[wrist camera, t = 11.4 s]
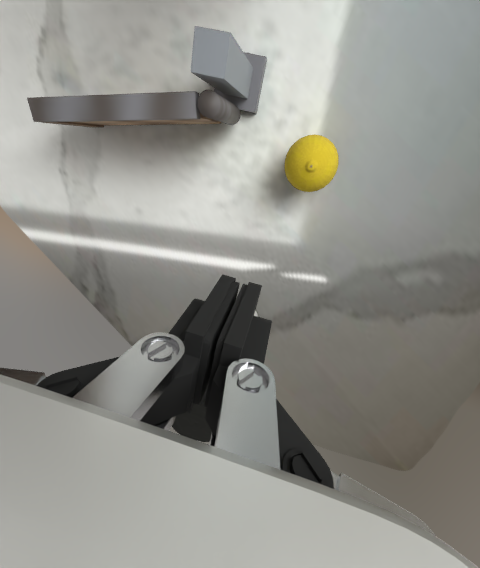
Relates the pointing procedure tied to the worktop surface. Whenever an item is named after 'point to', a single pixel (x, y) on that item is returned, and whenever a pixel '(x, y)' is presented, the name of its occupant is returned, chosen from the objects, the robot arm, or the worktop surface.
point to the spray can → (195, 421)
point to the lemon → (311, 163)
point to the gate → (135, 109)
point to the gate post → (228, 67)
